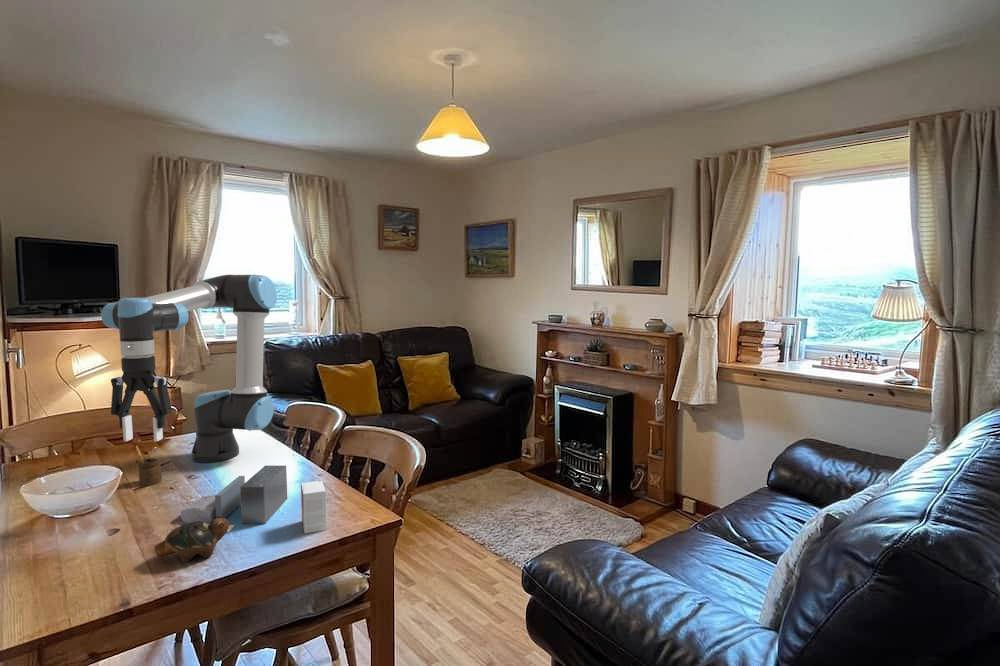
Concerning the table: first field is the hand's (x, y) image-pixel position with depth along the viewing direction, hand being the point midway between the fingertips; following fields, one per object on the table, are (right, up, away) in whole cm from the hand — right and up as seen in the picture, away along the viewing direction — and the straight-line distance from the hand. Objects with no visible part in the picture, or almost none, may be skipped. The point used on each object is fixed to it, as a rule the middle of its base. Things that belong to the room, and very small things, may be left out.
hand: (143, 439), depth 148 cm
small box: (+48, -21, -6) cm, 53 cm away
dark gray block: (+32, -20, +3) cm, 38 cm away
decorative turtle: (+25, -23, -21) cm, 40 cm away
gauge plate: (+23, -20, 0) cm, 30 cm away
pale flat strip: (+23, -21, -8) cm, 32 cm away
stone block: (+16, -21, +1) cm, 26 cm away
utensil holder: (-13, -18, +23) cm, 32 cm away
